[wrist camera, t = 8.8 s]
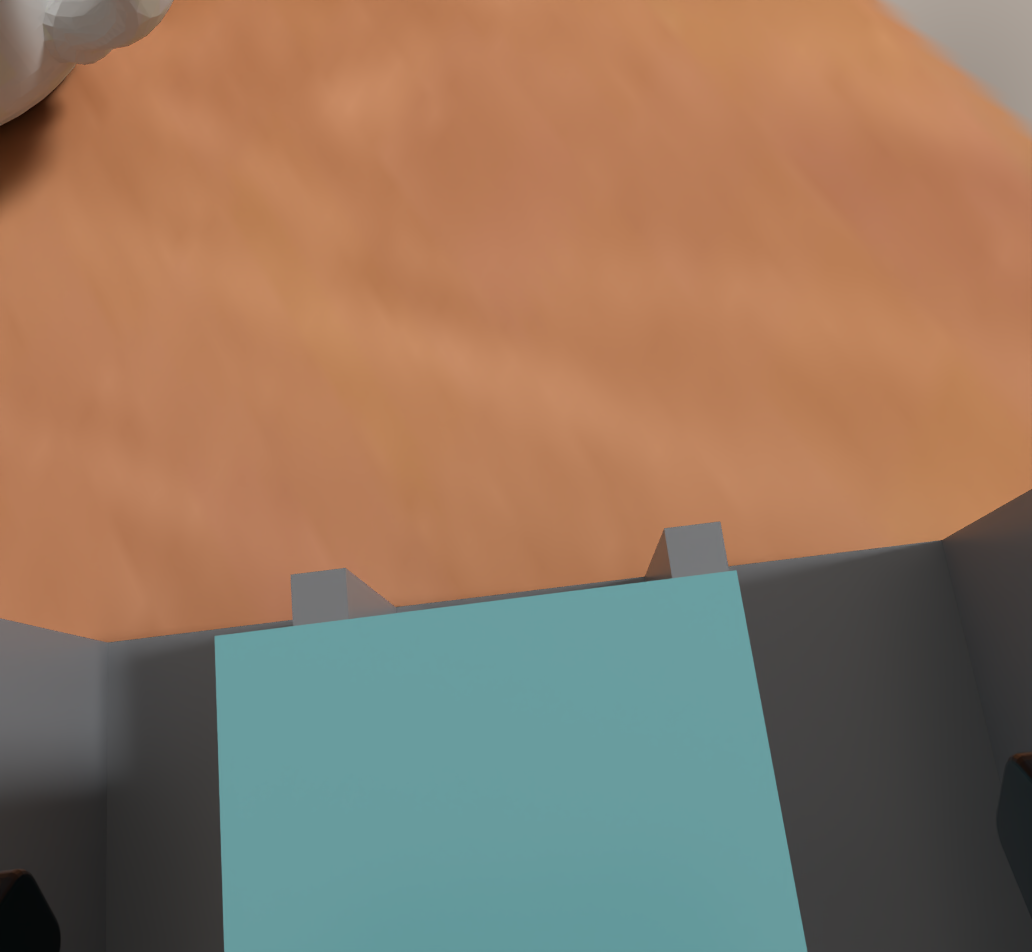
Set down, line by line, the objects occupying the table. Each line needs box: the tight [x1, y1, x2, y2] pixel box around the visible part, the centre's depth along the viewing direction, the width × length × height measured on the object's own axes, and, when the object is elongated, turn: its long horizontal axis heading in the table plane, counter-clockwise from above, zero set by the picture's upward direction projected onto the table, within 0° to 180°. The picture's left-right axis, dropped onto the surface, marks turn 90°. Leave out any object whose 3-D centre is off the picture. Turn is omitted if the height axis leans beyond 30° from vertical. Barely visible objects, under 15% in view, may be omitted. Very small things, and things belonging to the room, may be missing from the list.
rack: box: [0, 489, 1032, 952], centre depth 15 cm, size 10×17×5 cm, turn 96°
